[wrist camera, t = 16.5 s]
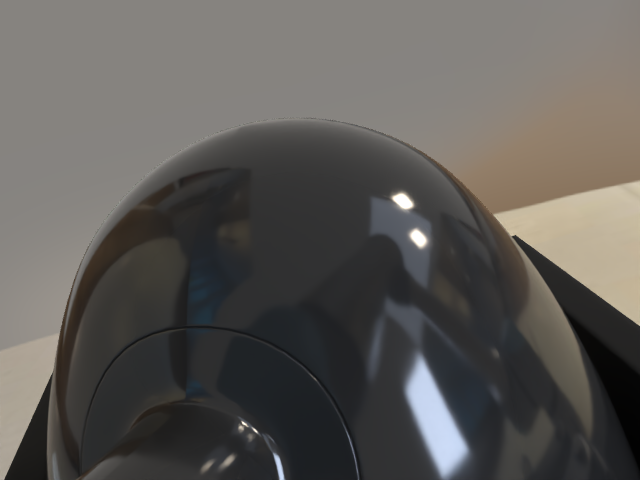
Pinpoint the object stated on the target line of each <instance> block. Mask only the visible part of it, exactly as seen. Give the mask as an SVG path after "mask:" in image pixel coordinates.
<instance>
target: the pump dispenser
mask: <svg viewBox="0 0 640 480" xmlns="http://www.w3.org/2000/svg"><path fill="white" fill-rule="evenodd" d="M46 480H640V471H639V468H638V466H637V463H636V460H635V458H634V455H633V453H632V450H631V448H630V445H629V443H628V440H627V438H626V435H625V433H624V431H623V428H622V426H621V423H620V421H619V418H618V416H617V414H616V411H615V409H614V407H613V404H612V402H611V400H610V397H609V395H608V393H607V391H606V389H605V387H604V384H603V382H602V380H601V378H600V376H599V374H598V372H597V370H596V368H595V366H594V364H593V362H592V360H591V358H590V356H589V355H588V353H587V351H586V349H585V347H584V345H583V344H582V342H581V340H580V338H579V336H578V335H577V333H576V331H575V329H574V328H573V326H572V324H571V322H570V321H569V319H568V317H567V315H566V314H565V312H564V310H563V309H562V307H561V305H560V304H559V302H558V301H557V299H556V297H555V296H554V294H553V293H552V291H551V290H550V288H549V287H548V285H547V284H546V282H545V281H544V279H543V278H542V276H541V275H540V273H539V272H538V271H537V269H536V268H535V266H534V265H533V264H532V262H531V261H530V260H529V258H528V257H527V256H526V254H525V253H524V252H523V250H522V249H521V248H520V247H519V245H518V244H517V243H516V242H515V240H514V239H513V238H512V237H511V235H510V234H509V233H508V232H507V231H506V229H505V228H504V227H503V226H502V225H501V224H500V222H499V221H498V220H497V219H496V218H495V217H494V216H493V214H492V213H491V212H490V211H489V210H488V209H487V208H486V207H485V206H484V205H483V204H482V203H481V201H480V200H479V199H478V198H477V197H476V196H475V195H474V194H473V193H472V192H471V191H470V190H469V189H468V188H467V187H466V186H465V185H464V184H463V183H462V182H460V181H459V180H458V179H457V178H456V177H455V176H454V175H453V174H452V173H450V172H449V171H448V170H447V169H446V168H444V167H443V166H442V165H441V164H439V163H438V162H437V161H435V160H434V159H432V158H431V157H429V156H428V155H427V154H425V153H423V152H422V151H420V150H418V149H416V148H415V147H413V146H411V145H409V144H408V143H405V142H403V141H401V140H399V139H397V138H394V137H392V136H390V135H386V134H384V133H381V132H378V131H376V130H373V129H369V128H366V127H362V126H358V125H355V124H350V123H345V122H340V121H335V120H327V119H316V118H279V119H271V120H263V121H257V122H251V123H247V124H243V125H239V126H235V127H232V128H229V129H226V130H223V131H220V132H217V133H215V134H213V135H210V136H208V137H206V138H203V139H201V140H199V141H197V142H195V143H193V144H191V145H189V146H187V147H186V148H184V149H182V150H180V151H179V152H177V153H175V154H174V155H172V156H171V157H169V158H168V159H167V160H165V161H164V162H162V163H161V164H160V165H158V166H157V167H155V168H154V169H153V170H152V171H151V172H150V173H148V174H147V175H146V176H145V177H144V178H143V179H141V180H140V181H139V182H138V183H137V184H136V185H135V186H134V187H133V188H132V189H131V190H130V191H129V192H128V193H127V194H126V195H125V196H124V197H123V198H122V199H121V201H120V202H119V203H118V204H117V205H116V207H115V208H114V209H113V210H112V211H111V212H110V214H109V215H108V216H107V218H106V219H105V221H104V222H103V223H102V225H101V227H100V228H99V229H98V231H97V232H96V234H95V236H94V237H93V239H92V241H91V243H90V244H89V246H88V248H87V250H86V252H85V254H84V257H83V259H82V261H81V263H80V265H79V268H78V271H77V273H76V276H75V279H74V281H73V285H72V288H71V292H70V295H69V298H68V301H67V305H66V309H65V313H64V317H63V321H62V326H61V331H60V336H59V341H58V346H57V352H56V357H55V363H54V369H53V377H52V384H51V392H50V401H49V411H48V425H47V447H46Z"/></svg>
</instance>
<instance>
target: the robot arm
mask: <svg viewBox="0 0 640 480" xmlns="http://www.w3.org/2000/svg"><path fill="white" fill-rule="evenodd" d="M511 237H512V238H513V239H514V240H515V242H516V243H517V244H518V245H519V247H520V248H521V249H522V250H523V252H524V253H525V254H526V256H527V257H528V258H529V260H530V261H531V262H532V264H533V265H534V266H535V268H536V269H537V271H538V272H539V273H540V275H541V276H542V278H543V279H544V281H545V282H546V284H547V285H548V287H549V288H550V290H551V291H552V293H553V294H554V296H555V297H556V299H557V301H558V302H559V304H560V305H561V307H562V309H563V310H564V312H565V314H566V315H567V317H568V319H569V321H570V322H571V324H572V326H573V328H574V329H575V331H576V333H577V335H578V336H579V338H580V340H581V342H582V344H583V345H584V347H585V349H586V351H587V353H588V355H589V356H590V358H591V360H592V362H593V364H594V366H595V368H596V370H597V372H598V374H599V376H600V378H601V380H602V382H603V384H604V387H605V389H606V391H607V393H608V395H609V397H610V400H611V402H612V404H613V407H614V409H615V411H616V414H617V416H618V418H619V421H620V423H621V426H622V428H623V431H624V433H625V435H626V438H627V440H628V443H629V445H630V448H631V450H632V453H633V455H634V458H635V460H636V463H637V466H638V468H639V471H640V326H639V325H637V324H636V323H635V322H633V321H632V320H630V319H629V318H628V317H626V316H625V315H624V314H622V313H621V312H620V311H618V310H617V309H615V308H614V307H613V306H611V305H610V304H609V303H607V302H606V301H605V300H603V299H602V298H600V297H599V296H598V295H596V294H595V293H594V292H592V291H591V290H589V289H588V288H587V287H585V286H584V285H583V284H581V283H580V282H579V281H577V280H576V279H574V278H573V277H572V276H570V275H569V274H568V273H566V272H565V271H564V270H562V269H561V268H559V267H558V266H557V265H555V264H554V263H553V262H551V261H550V260H549V259H547V258H546V257H544V256H543V255H542V254H540V253H539V252H538V251H536V250H535V249H534V248H532V247H531V246H529V245H528V244H527V243H525V242H524V241H523V240H521V239H520V238H519V237H517V236H516V235H515V236H511ZM52 377H53V373H52V375H51V377H50V379H49V382H48V384H47V386H46V388H45V391H44V393H43V395H42V397H41V399H40V402H39V404H38V406H37V408H36V411H35V413H34V415H33V417H32V419H31V422H30V424H29V426H28V428H27V430H26V433H25V435H24V437H23V439H22V442H21V444H20V446H19V448H18V450H17V453H16V455H15V457H14V459H13V462H12V464H11V466H10V468H9V470H8V473H7V475H6V477H5V479H4V480H46V447H47V425H48V411H49V401H50V392H51V384H52Z"/></svg>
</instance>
